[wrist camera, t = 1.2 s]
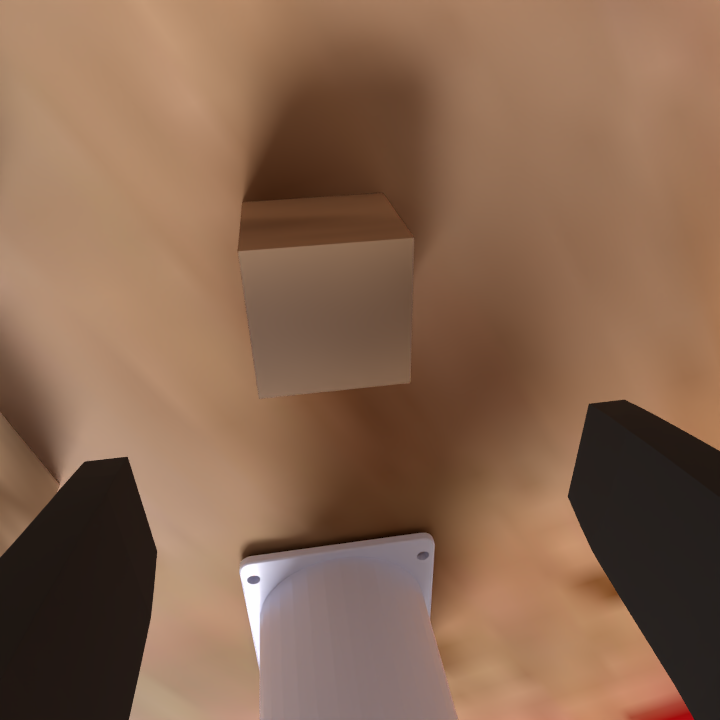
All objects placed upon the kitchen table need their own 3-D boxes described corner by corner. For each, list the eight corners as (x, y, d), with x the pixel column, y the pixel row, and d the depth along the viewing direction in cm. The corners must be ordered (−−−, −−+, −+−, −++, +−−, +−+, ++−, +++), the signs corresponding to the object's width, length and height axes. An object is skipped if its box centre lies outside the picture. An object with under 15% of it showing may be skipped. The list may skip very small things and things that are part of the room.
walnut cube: (383, 315, 19) (410, 382, 15) (259, 326, 18) (258, 398, 15) (382, 192, 16) (414, 238, 13) (242, 201, 16) (238, 251, 13)
